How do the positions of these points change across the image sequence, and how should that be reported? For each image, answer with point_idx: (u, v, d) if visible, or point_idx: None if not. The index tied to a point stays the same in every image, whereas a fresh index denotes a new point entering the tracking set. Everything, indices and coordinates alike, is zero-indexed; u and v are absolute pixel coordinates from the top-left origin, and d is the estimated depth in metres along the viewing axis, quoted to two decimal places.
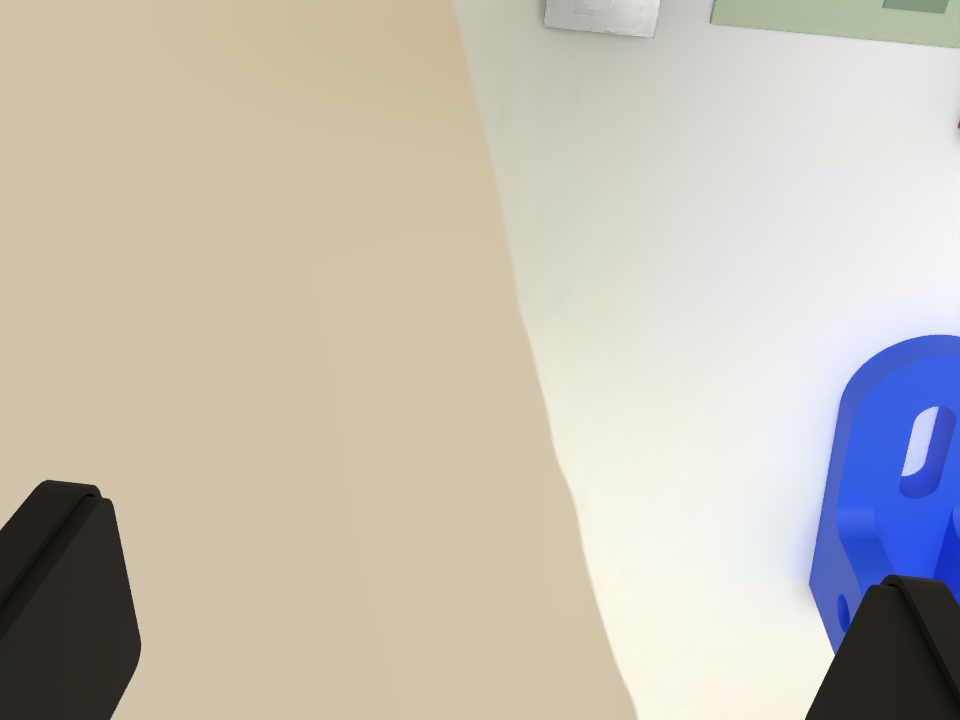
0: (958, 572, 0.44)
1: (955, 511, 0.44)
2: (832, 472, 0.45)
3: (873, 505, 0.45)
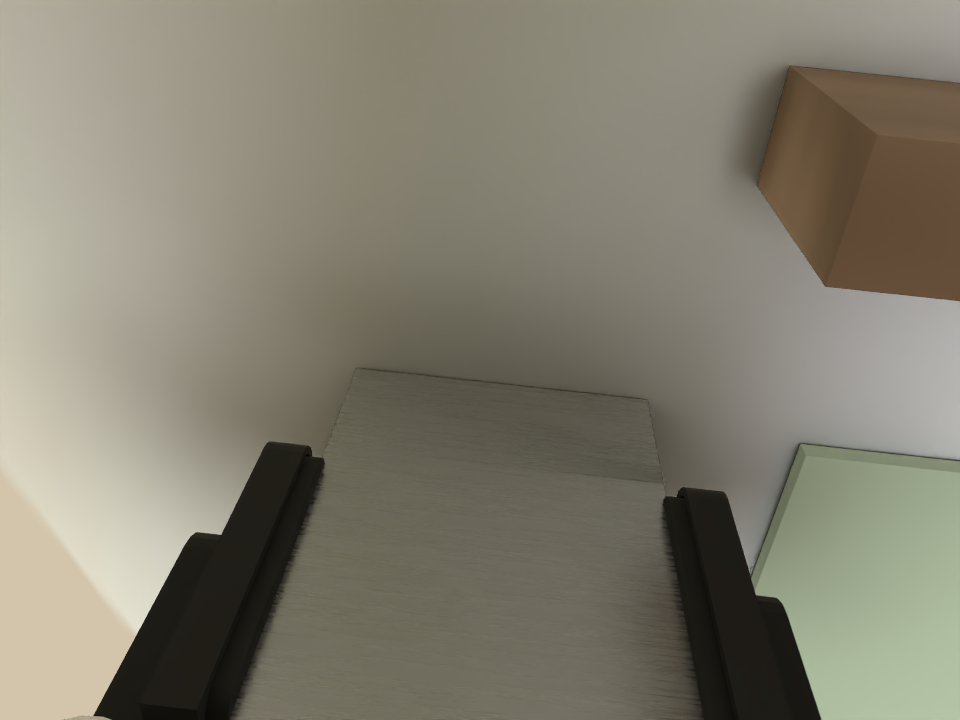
0: None
1: None
2: None
3: None
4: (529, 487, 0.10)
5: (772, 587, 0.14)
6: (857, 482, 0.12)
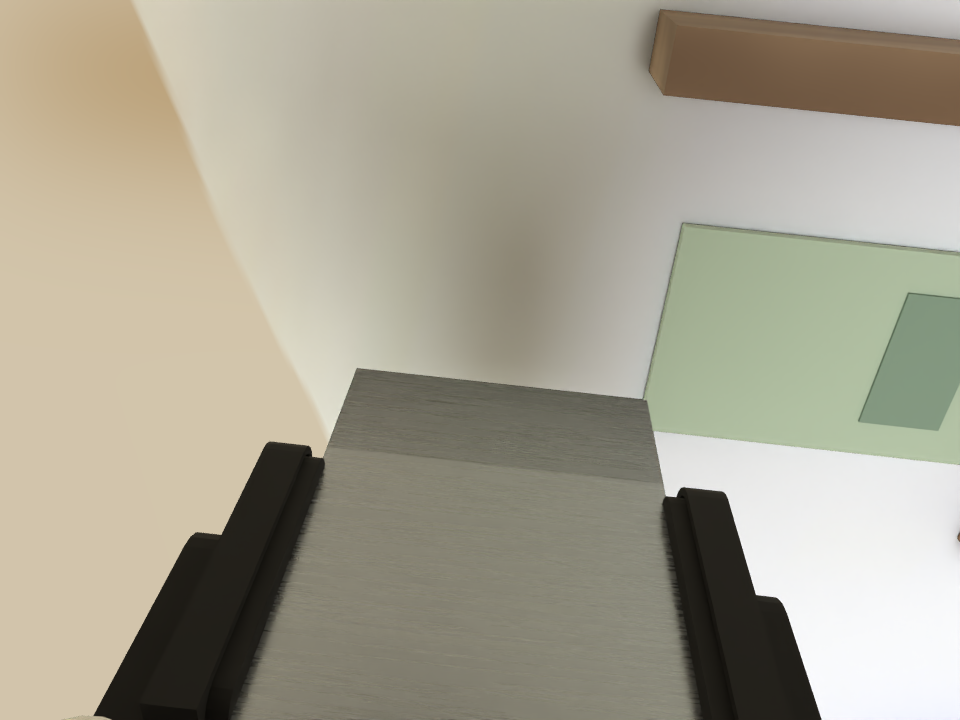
0: None
1: None
2: None
3: None
4: (529, 487, 0.10)
5: (673, 316, 0.24)
6: (713, 243, 0.23)
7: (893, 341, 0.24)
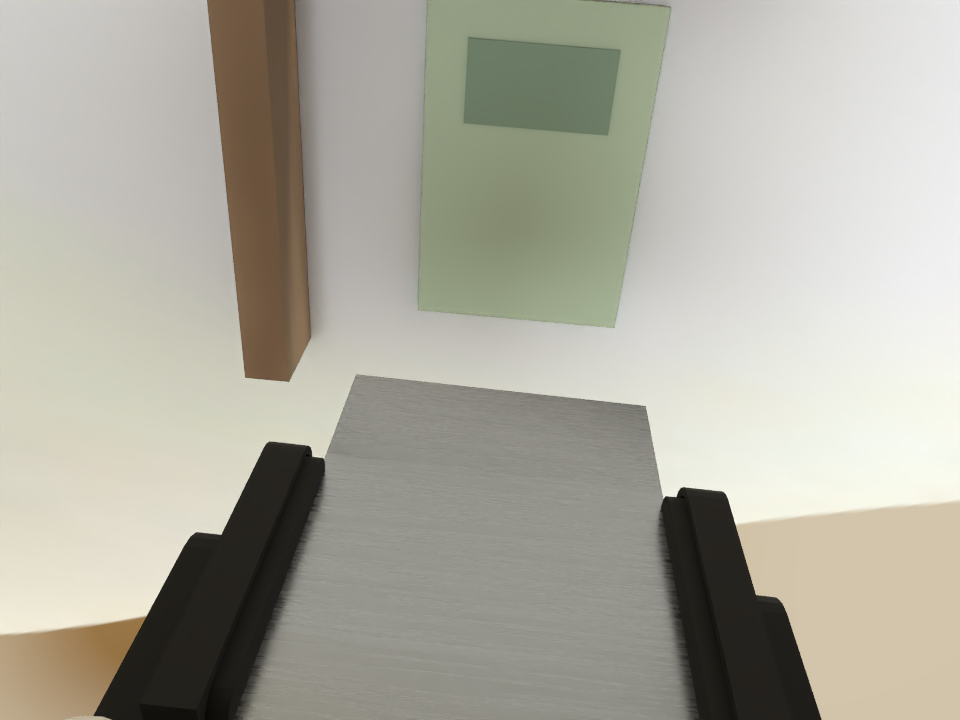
0: None
1: None
2: None
3: None
4: (528, 494, 0.10)
5: (497, 310, 0.28)
6: (429, 288, 0.28)
7: (513, 124, 0.25)
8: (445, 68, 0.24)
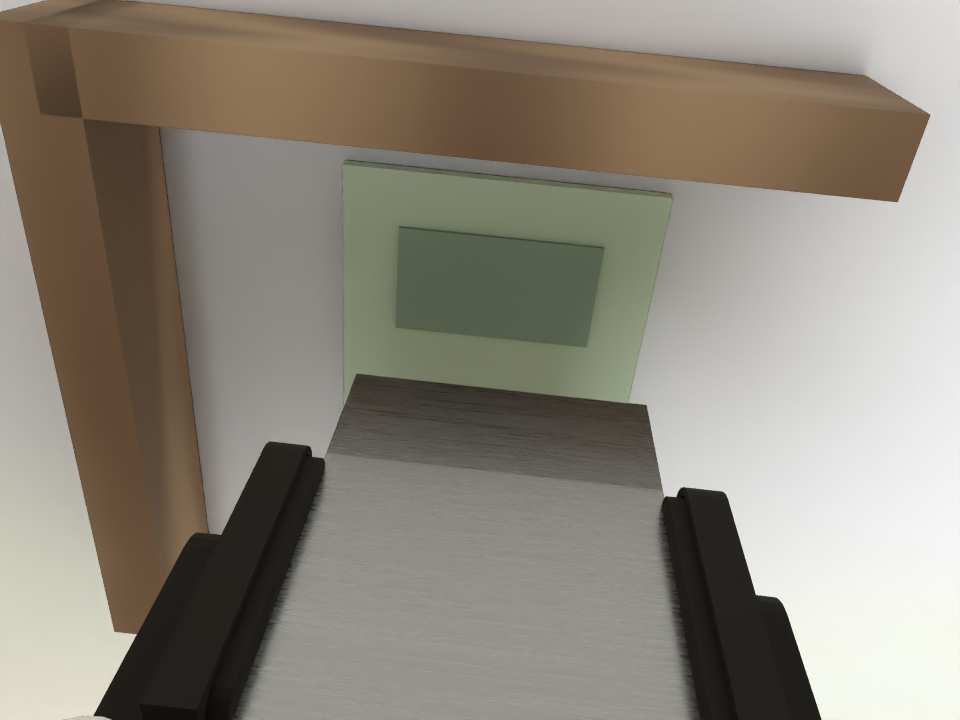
0: None
1: None
2: None
3: None
4: (528, 493, 0.10)
5: None
6: None
7: (461, 331, 0.19)
8: (369, 262, 0.18)
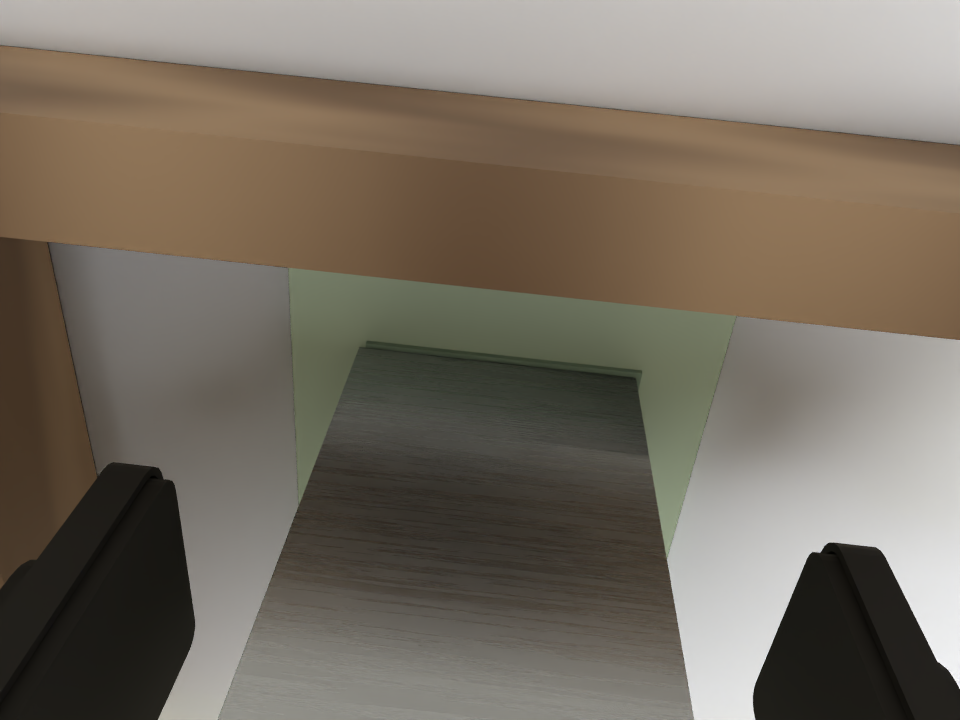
0: None
1: None
2: None
3: None
4: (522, 458, 0.11)
5: None
6: None
7: None
8: (328, 384, 0.14)
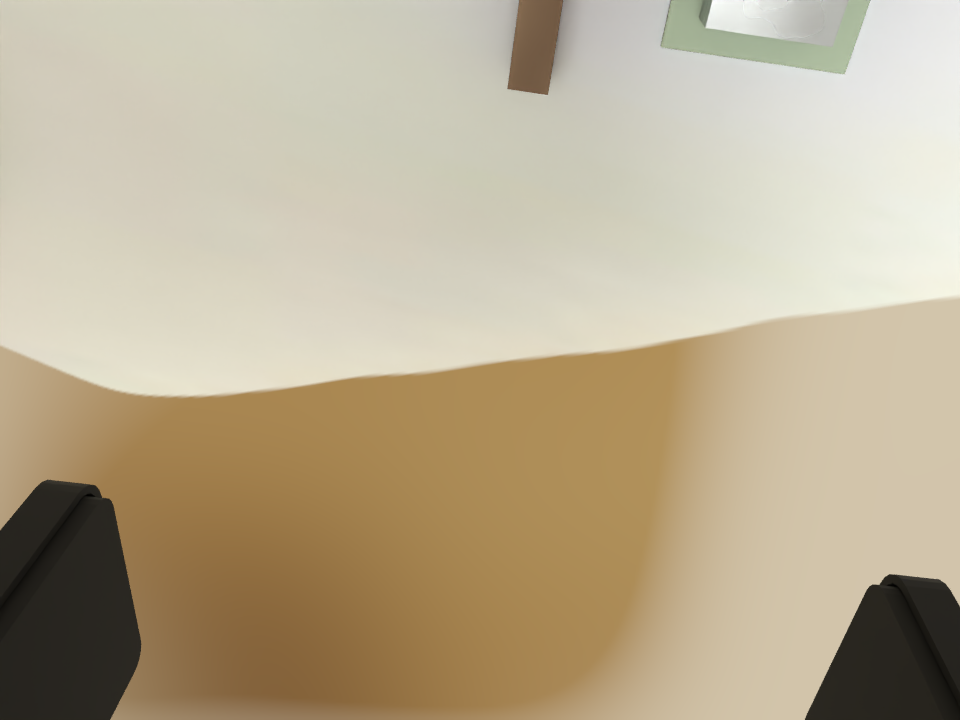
0: None
1: None
2: None
3: None
4: None
5: (736, 51, 0.30)
6: (677, 23, 0.30)
7: None
8: None
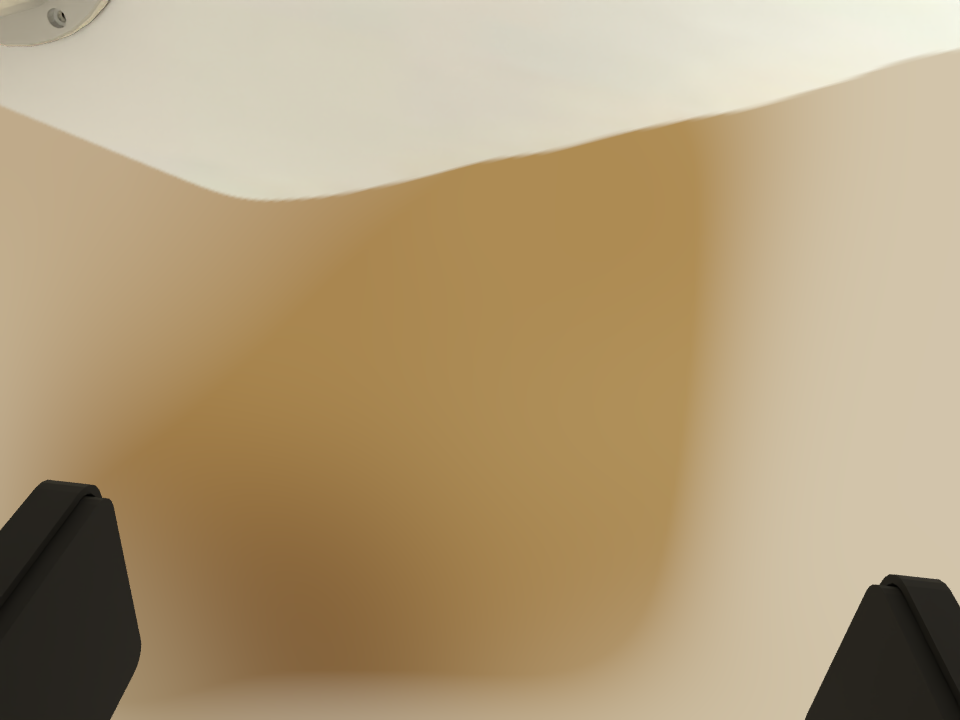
0: None
1: None
2: None
3: None
4: None
5: None
6: None
7: None
8: None
